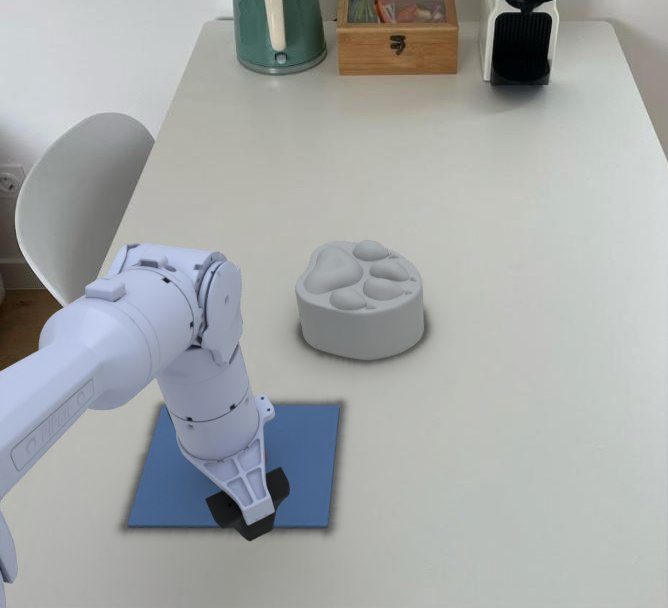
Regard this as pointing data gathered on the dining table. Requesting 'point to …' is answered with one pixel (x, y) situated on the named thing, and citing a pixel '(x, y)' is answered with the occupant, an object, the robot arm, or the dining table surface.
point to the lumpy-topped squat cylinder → (360, 300)
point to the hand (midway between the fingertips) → (241, 493)
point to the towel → (282, 451)
